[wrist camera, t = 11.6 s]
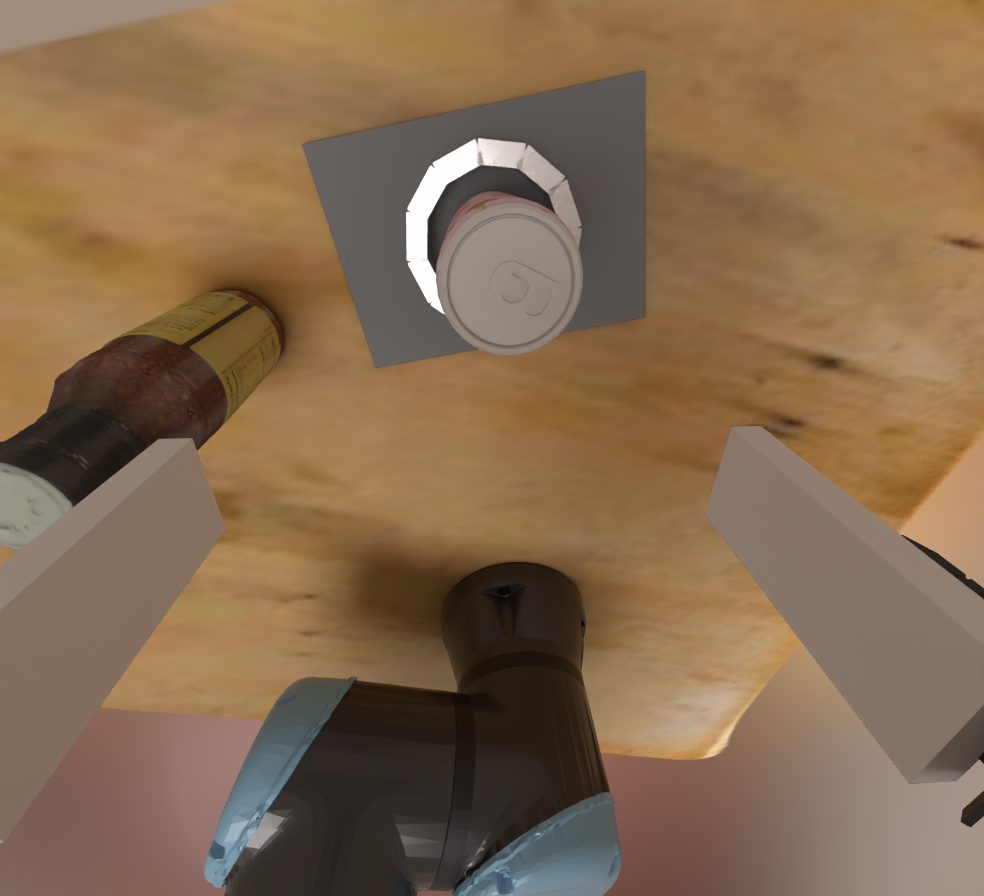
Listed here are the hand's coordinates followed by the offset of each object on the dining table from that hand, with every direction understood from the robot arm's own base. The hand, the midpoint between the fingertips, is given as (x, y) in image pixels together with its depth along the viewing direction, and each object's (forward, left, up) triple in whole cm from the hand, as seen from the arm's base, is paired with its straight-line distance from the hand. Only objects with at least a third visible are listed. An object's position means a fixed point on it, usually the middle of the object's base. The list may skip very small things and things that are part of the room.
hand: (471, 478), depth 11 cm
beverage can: (+1, -4, -23) cm, 23 cm away
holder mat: (+1, -4, -23) cm, 23 cm away
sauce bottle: (+12, +11, -23) cm, 28 cm away
